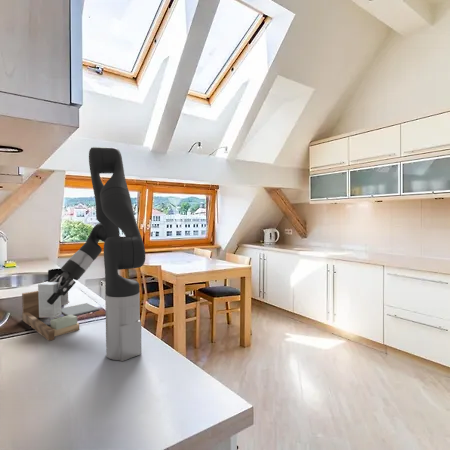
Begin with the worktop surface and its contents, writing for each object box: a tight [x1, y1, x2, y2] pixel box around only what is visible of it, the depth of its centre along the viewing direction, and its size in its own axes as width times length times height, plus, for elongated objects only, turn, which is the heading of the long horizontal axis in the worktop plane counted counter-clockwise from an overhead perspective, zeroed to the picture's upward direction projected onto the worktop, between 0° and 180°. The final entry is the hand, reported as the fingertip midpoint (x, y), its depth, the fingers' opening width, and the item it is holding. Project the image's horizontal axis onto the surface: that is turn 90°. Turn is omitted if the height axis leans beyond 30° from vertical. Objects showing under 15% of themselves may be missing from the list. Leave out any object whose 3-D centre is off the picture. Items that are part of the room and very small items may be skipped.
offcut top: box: [50, 314, 78, 330], centre depth 106 cm, size 4×7×2 cm, turn 143°
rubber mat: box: [61, 302, 100, 316], centre depth 130 cm, size 12×12×1 cm
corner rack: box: [21, 290, 55, 342], centre depth 112 cm, size 28×10×10 cm, turn 47°
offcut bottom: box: [49, 322, 80, 337], centre depth 107 cm, size 5×8×2 cm, turn 139°
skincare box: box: [37, 281, 62, 319], centre depth 114 cm, size 6×4×12 cm
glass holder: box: [47, 268, 70, 307], centre depth 141 cm, size 9×14×15 cm, turn 28°
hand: (45, 301), depth 113 cm, fingers closed on skincare box, 7 cm apart
